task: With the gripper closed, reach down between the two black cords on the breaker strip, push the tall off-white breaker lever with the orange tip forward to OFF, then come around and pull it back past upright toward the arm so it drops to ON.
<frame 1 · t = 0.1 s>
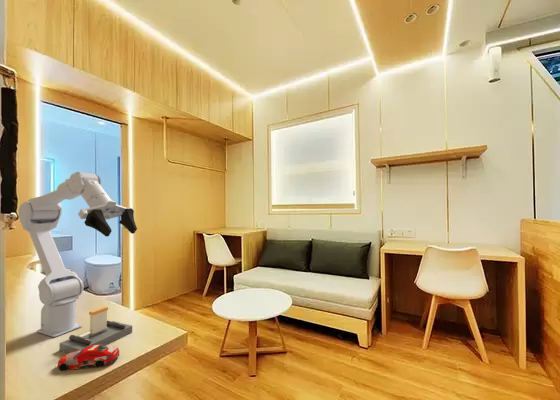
hand: (122, 232, 74), 32 cm above the table, tool tilted 50°, fingers open, 7 cm apart
breaker lever: (98, 321, 77), point 6 cm above the table, hinge at 0.0°
breaker strip: (98, 340, 77), on the table
race car: (89, 364, 66), on the table
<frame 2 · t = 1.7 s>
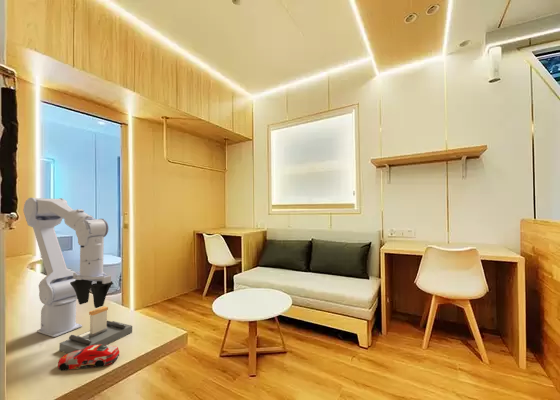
hand: (91, 305, 78), 10 cm above the table, tool pointing down, fingers open, 7 cm apart
nothing on the table moved.
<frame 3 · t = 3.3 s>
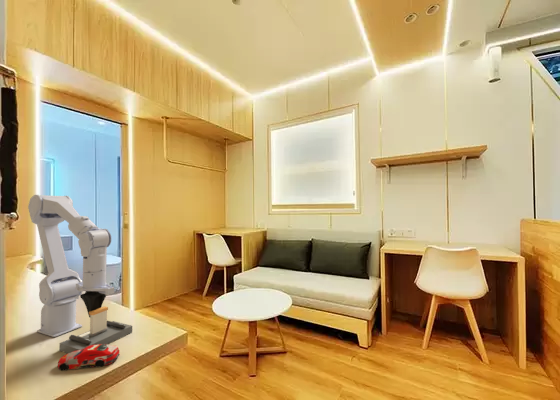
hand: (94, 316, 78), 7 cm above the table, tool pointing down, fingers closed
breaker lever: (98, 321, 77), point 6 cm above the table, hinge at 0.0°, touching gripper
everything else where it was.
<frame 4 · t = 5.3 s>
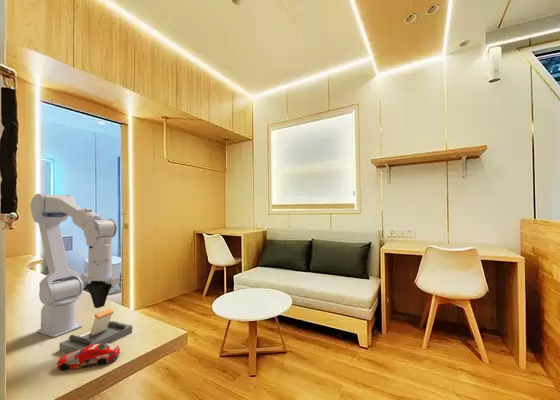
hand: (99, 306, 77), 10 cm above the table, tool pointing down, fingers closed
breaker lever: (101, 323, 76), point 5 cm above the table, hinge at 23.8°
everything else where it was.
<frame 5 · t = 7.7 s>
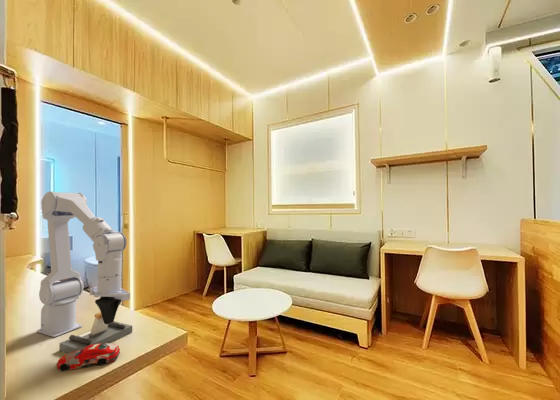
hand: (109, 322, 75), 6 cm above the table, tool pointing down, fingers closed
breaker lever: (101, 323, 76), point 5 cm above the table, hinge at 24.1°, touching gripper
everything else where it was.
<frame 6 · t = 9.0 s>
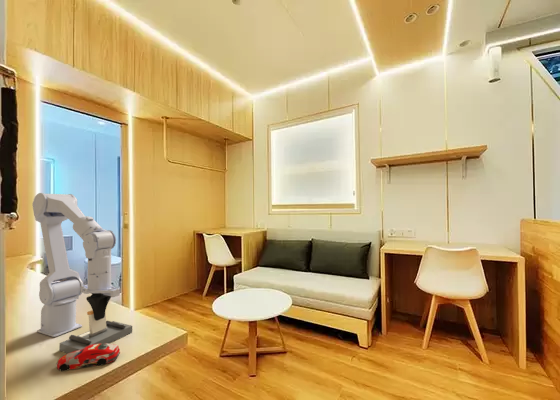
hand: (99, 319, 77), 6 cm above the table, tool pointing down, fingers closed, pressing on breaker lever
breaker lever: (97, 321, 77), point 6 cm above the table, hinge at -8.1°, touching gripper
everything else where it was.
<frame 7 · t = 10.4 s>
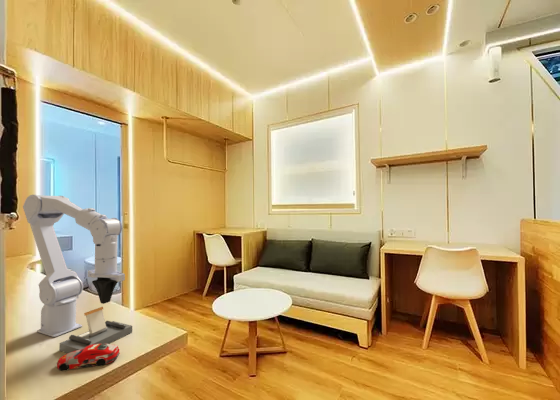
hand: (105, 302, 80), 10 cm above the table, tool pointing down, fingers closed
breaker lever: (96, 321, 77), point 5 cm above the table, hinge at -21.0°
everything else where it was.
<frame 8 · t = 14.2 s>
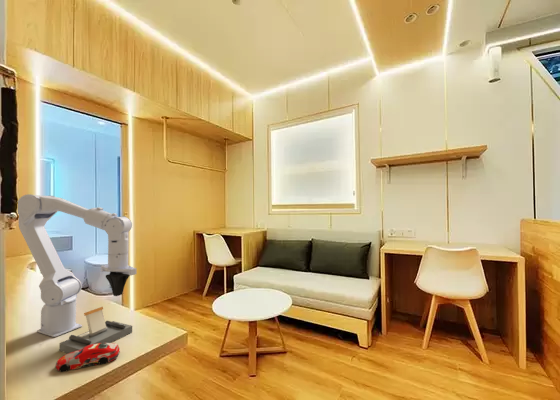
hand: (117, 295, 85), 10 cm above the table, tool pointing down, fingers closed
breaker lever: (96, 321, 77), point 5 cm above the table, hinge at -21.5°
at the end: breaker lever at -22° (first picture: +0°); race car moved 0.8 cm from its start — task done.
